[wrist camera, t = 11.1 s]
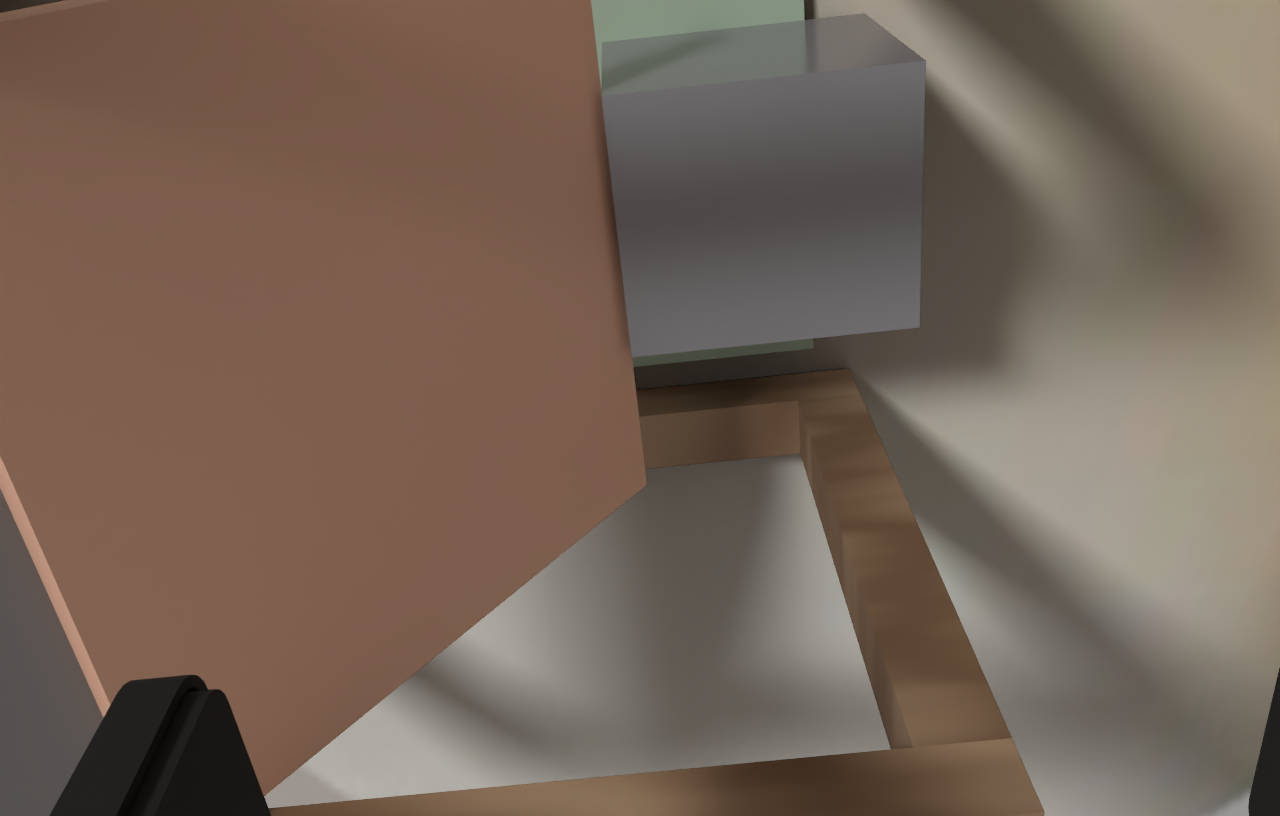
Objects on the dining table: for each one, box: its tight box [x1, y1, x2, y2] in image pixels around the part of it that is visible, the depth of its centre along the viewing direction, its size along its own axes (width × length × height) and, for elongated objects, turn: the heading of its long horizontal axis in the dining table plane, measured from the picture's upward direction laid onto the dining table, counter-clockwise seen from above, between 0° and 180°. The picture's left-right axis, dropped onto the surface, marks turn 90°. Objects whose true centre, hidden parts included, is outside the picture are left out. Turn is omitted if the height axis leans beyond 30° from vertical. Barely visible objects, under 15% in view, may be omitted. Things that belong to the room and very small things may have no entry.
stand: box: [268, 368, 1044, 816], centre depth 20 cm, size 21×16×15 cm
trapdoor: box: [0, 0, 647, 816], centre depth 17 cm, size 18×12×4 cm
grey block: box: [601, 13, 926, 357], centre depth 24 cm, size 5×5×6 cm
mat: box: [591, 0, 814, 367], centre depth 27 cm, size 11×11×1 cm
